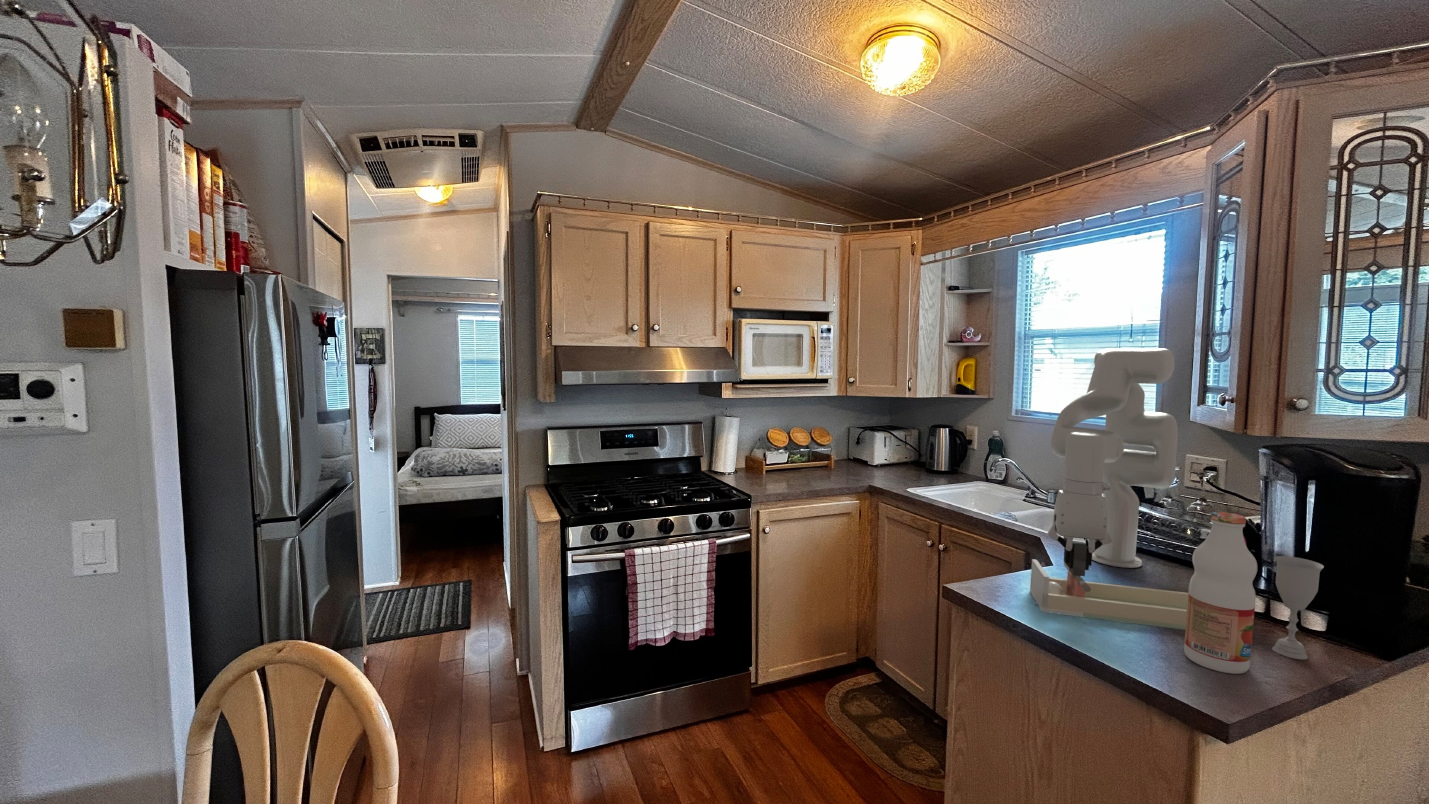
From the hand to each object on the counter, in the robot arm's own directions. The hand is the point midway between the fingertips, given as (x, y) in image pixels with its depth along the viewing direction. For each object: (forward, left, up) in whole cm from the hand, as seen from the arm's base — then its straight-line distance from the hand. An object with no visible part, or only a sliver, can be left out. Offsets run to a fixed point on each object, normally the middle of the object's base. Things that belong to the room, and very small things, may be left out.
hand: (1077, 566), depth 134 cm
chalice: (+11, +34, -9) cm, 37 cm away
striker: (0, 0, -8) cm, 8 cm away
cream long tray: (0, +8, -9) cm, 12 cm away
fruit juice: (+20, +18, -9) cm, 29 cm away
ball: (0, -5, -6) cm, 8 cm away
